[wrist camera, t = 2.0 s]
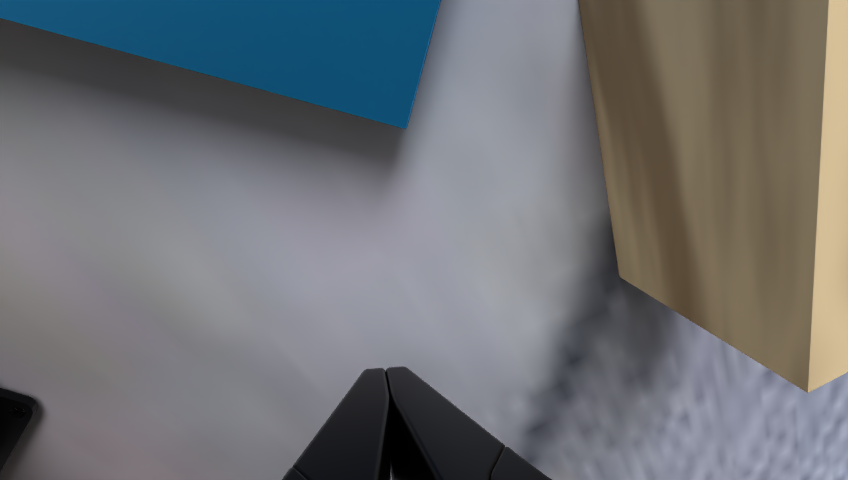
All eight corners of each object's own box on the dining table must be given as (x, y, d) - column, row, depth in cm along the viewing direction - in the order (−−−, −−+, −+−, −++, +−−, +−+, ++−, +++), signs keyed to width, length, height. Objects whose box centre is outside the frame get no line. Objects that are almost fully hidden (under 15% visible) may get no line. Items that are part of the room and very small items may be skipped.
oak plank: (618, 276, 25) (808, 392, 16) (576, -7, 19) (832, -71, 10) (681, 248, 26) (898, 345, 17) (658, -35, 20) (968, -120, 11)
